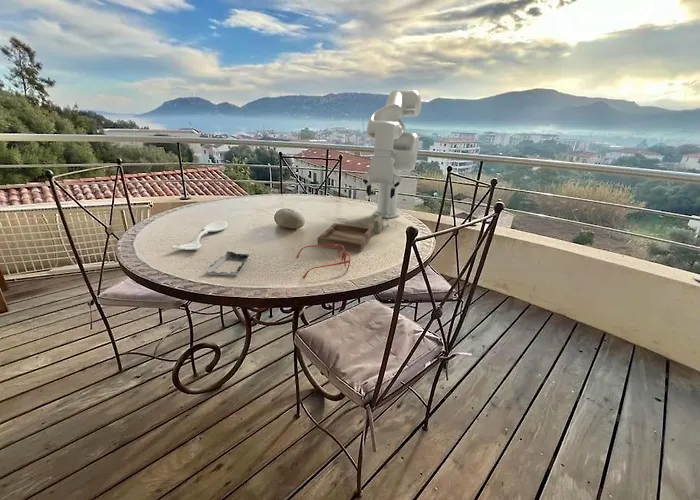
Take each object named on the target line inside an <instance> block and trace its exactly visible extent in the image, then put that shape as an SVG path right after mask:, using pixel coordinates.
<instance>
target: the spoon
mask: <svg viewBox="0 0 700 500" xmlns="http://www.w3.org/2000/svg"><path fill="white" fill-rule="evenodd" d="M227 227H228V222H227V221H223V220H214V221H212V222H209V223H207V224H206V225H204V227H202V229H203V230H201V231H199V233H198V235H197V236H196V237H195V239H194V240H193V241H192V242H188V243H184V244H180V245H172V246H171V249H172V250H174V249H176V250H181V251H183V250H184V251H193V250H197V251H198V249H199V248H201V247H202V244H201V243H200V240H201V237H202V236H204V235H206V234H208V233H215V232H221V231H223V230H225V229H226V228H227Z"/></svg>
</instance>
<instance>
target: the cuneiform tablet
mask: <svg viewBox="0 0 700 500" xmlns="http://www.w3.org/2000/svg"><path fill="white" fill-rule="evenodd" d="M386 216H387V211H386ZM388 219H389V218H388V217H387V218H386V221H387V222H386V223H387V227H389V226H390V225H389V220H388ZM383 220H384V219H383V217H382V216H381V215H378V216H376V217H375V219H374V221H373V230H374V232H375V233H376V234H381V231H382V229H383V228H384V221H383Z"/></svg>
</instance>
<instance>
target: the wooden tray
mask: <svg viewBox="0 0 700 500" xmlns="http://www.w3.org/2000/svg"><path fill="white" fill-rule="evenodd" d="M373 234H374V227H366V226H360V225H359V226H358V225H353V224H352V225H351V224H345V223H344V224H343V223H336V222H334V223H333V224H332V225H330V227H328V228H327V229H325V231H324V232H323V233H321V234H320V235H319V236H318V237H317V245H327V244H340V245H342V246H343V247H344V249H345V251H350V252H358V253H361V252H362V251H363V250H364V249H365V247H366V245H367V244H368V243H369V241H370V240H371V238H372V237H373V236H374V235H373ZM342 246H340V249H339V250H343V247H342ZM322 247H324V248H331V249H337V250H338V246H321V248H322Z"/></svg>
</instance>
